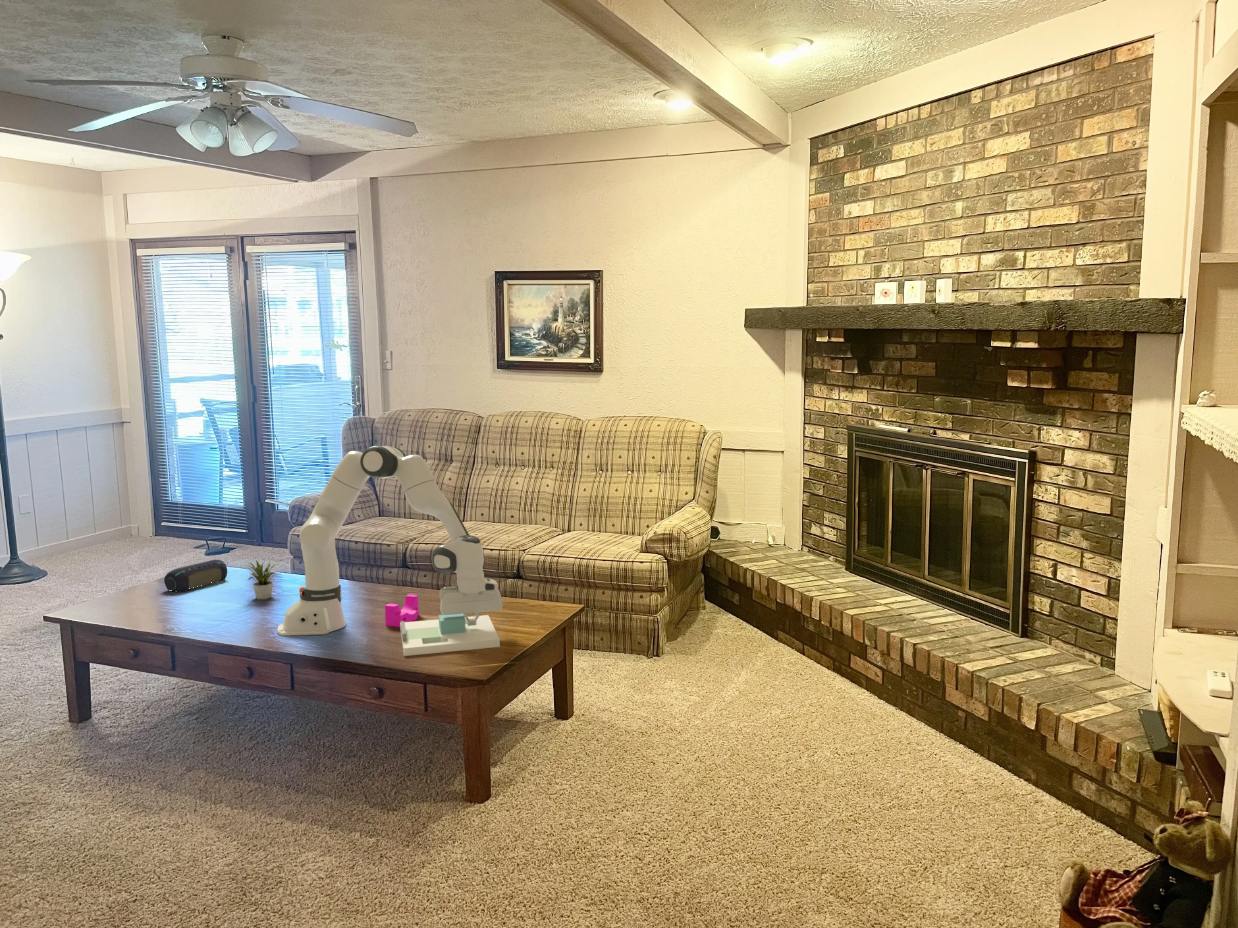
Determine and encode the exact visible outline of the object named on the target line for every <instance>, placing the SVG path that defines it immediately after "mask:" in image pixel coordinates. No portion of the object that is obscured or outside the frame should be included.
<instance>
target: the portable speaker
mask: <svg viewBox="0 0 1238 928" xmlns="http://www.w3.org/2000/svg"><path fill="white" fill-rule="evenodd" d="M227 576H228V567H227V564H226V563H225V562H224V561H223V560H220V559H211V560H208V561H203V562H199V563H198V562H197V563H194V564H189V565H185V566H182V567H178V568H173V569H172V570H170V571H169V572H167V573H166V575H164V578H163V581H164V586H165V587H166V590H168V591H169V590H172V591H183V592H186V591H185V590H187V591H190V590H189V588H190V589H191V590H193V589H192V588H193V587H194V589H198V588H201V587H200V586H201V585H202V587H204V585H206V586H208V585H207V584H210V585H213V584H217V583H219V582H220V581H221V582H223V581H225V580H226V578H227ZM211 582H212V583H213V584H212V583H211ZM216 582H217V583H216ZM221 582H220V583H221ZM197 586H198V588H197Z"/></svg>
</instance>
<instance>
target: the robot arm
mask: <svg viewBox="0 0 1238 928" xmlns="http://www.w3.org/2000/svg"><path fill="white" fill-rule="evenodd" d="M370 478H374V479H375V478H377V479H383V480H385V479H394V478H395V479H396V480H398V482H399V483H400V486H401V487H402V491H403V493H404V495H405V496H404V497H405V498H406V501H407V502H408V504H409V506H410V507H411V508H412V509H413V510H414V511H416V512H418V513H421V514H426V515H429V516H433V517H434V518H437V519H438V520H439V521H440V522H441V524H442V525H443V527H444V529H445V530H446V532H447V534H448V536H449V538H450V540H451V541H450V542H448V543H444V544H441V545H439V546H437V547H436V548H434V549H433V550H432V552H431V564H432V567H433V568H434V569H435V570H436V571H437V572H438V573H440V574H453V573H456V585H451V586H443V588H441V589H440V590H439V591H438V596H439V600H440V607H439V608H440V610H439V611H440V613H441V615H452V614H463V615H464V617H465V618H466V620H467V624H468V626H474V625H477V623H476V620H477V619H478V617H479V616H481V615H480V613H484V612H485V613H486V612H495V611H496V612H498V611H501V610H502V609H503V600H502V596H501V592H500V590H499V585H498V584H499V583H498V582H497V581H496V580H495V579H492V578H489V577H485V573H484V570H483V569H484V568H483V567H484V563H485V562H484V561H485V560H484V549H483V544H482V541H481V539H480V538H479V537H477V536H475V535H470V534H469V532H468V531H467V529H466V527H465V525H464V523H463V522H462V519H461V517H460V515H459V514H458V512H457V510H456V508H455V506H454V504H452V502H451V501H450V499H448V498H447V496H445V495H444V493H443V492H442V491H441V489H440V487H439V485H438V484H437V481H436V479H435V476H434V474H433V473H432V470H431V469H430V467H429V465H428V463H427V462H426V460H425V459H424V458H423V457H422V455H419V454H409V455H406V454H405V452H403V450H401V449H400V448H397V447H394V446H391V445H373V446H369V447H368V448H367V449H365V450H363V452H362V451H357V450H352V451H351V450H350V451H348V452H347V453H346V454H345V455H344V456H343V458H342V459H341V460H340V462H339V463H338V464H337V466H336V467H335V469H334V470H333V472H332V474H331V476H330V478H329V479H328V481H327V483H326V484H325V486H324V488H323V490H322V492H321V494H320V496H319V497H318V500H317V502H316V505H315V506H314V508H313V510H312V512H311V513H310V516H309V517H308V519H307V520H306V521H305V522H304V523H303V525H302V526H301V527H300V530H299V541H300V547H301V549H300V550H301V554H302V559H303V560H302V561H303V564H304V576H305V579H304V580H305V586H303V585H302V586H300V587H299V589H298V592H299V597H300V599H298V600H297V601H296V602H295V603H294V604H292V605H291V606H290V607H289V608H288V609H287V610H286V611H285V614H284V618H283V622H281V623H280V624H279V625H278V626H277V630H276V631H277V634H278V635H280V636H282V637H283V636H307V635H308V636H310V635H311V636H313V635H327V634H329V633H331V632H333V631H337V630H340V629H343V628H345V627H346V626H347V621H346V618H345V615H344V611H343V606H342V598H343V593H342V586H341V584H340V572H339V570H340V569H339V561H338V555H337V550H336V542H335V540H336V537H337V536H338V534H339V532H340V530H341V529H342V527H343V526H344V524H345V521H346V520H347V517H348V516H349V513H350V511H351V510H352V509H353V506H354V504H355V503H356V500H357V499H358V497H359V495H360V494H361V492H362V490H363V488H364V486H365V485H366V482H367V481H368V480H369V479H370ZM469 614H474V616H475V618H474V619H469V618H468V617H470V616H469Z"/></svg>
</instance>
